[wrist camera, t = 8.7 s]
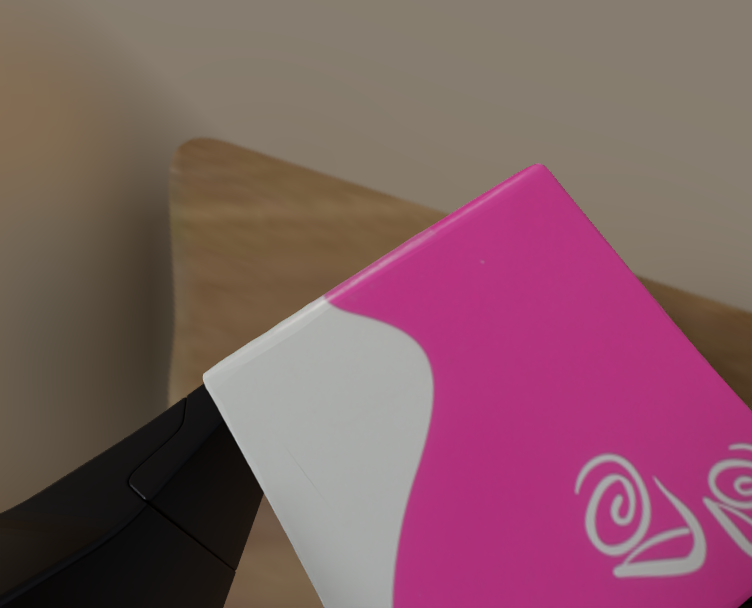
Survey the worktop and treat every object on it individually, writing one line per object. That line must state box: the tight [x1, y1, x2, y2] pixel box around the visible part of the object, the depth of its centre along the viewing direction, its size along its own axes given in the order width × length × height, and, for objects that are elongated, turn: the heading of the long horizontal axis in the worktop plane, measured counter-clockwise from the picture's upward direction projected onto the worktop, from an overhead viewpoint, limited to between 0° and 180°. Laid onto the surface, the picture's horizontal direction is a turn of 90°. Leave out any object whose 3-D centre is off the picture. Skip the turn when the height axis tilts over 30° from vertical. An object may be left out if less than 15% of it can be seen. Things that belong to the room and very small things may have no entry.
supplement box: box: [203, 163, 752, 608], centre depth 9 cm, size 6×6×12 cm
